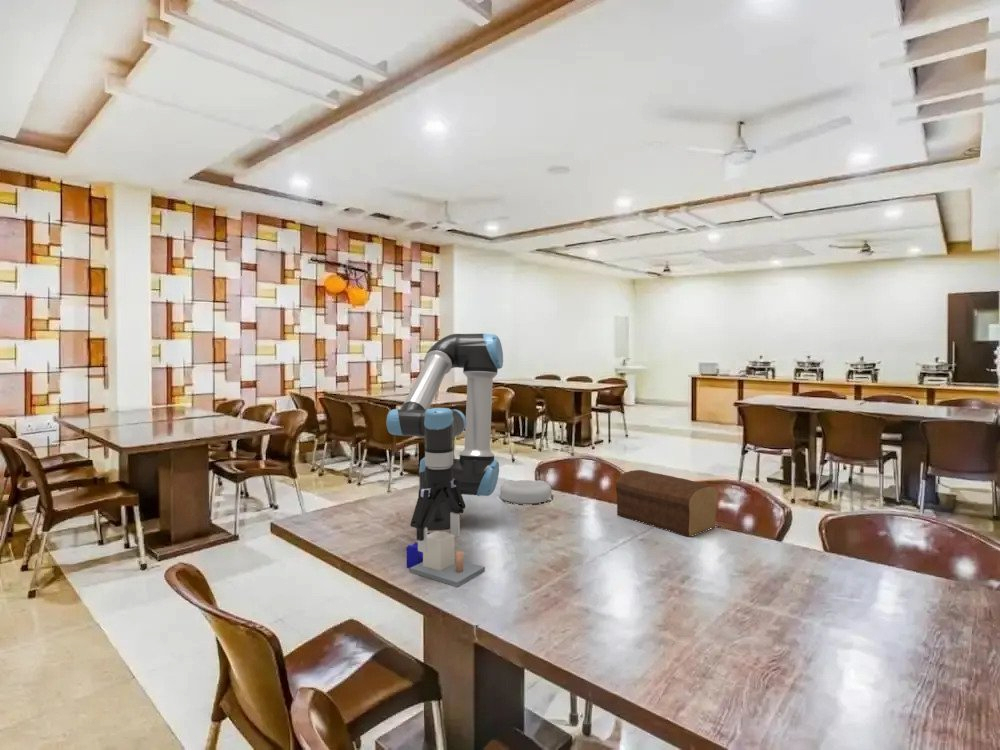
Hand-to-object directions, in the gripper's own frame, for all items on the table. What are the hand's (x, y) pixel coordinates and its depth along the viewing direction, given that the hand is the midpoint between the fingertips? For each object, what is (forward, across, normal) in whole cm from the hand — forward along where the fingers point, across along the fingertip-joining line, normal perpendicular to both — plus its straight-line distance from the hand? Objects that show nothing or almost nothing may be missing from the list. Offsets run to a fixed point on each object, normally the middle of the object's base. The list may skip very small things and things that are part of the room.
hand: (439, 543), depth 152 cm
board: (+7, +1, +3) cm, 8 cm away
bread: (+8, -76, +38) cm, 85 cm away
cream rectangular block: (+6, 0, 0) cm, 6 cm away
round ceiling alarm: (+9, -74, -17) cm, 77 cm away
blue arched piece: (+7, -1, -9) cm, 12 cm away
